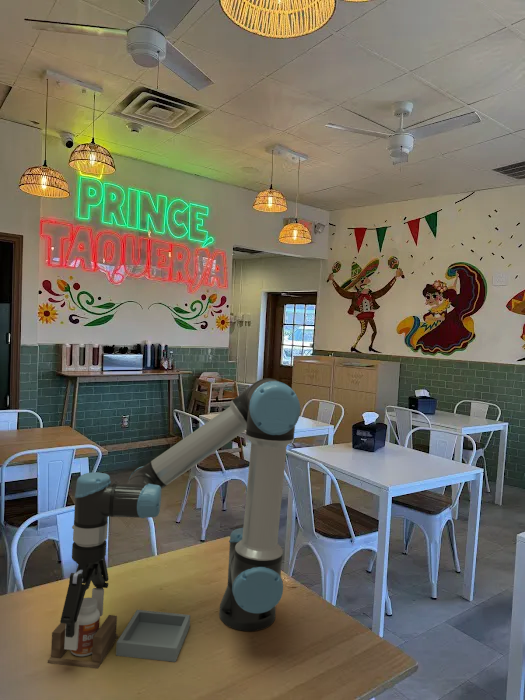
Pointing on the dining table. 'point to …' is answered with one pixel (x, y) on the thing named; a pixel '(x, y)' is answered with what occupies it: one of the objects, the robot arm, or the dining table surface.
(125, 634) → the tray
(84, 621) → the pill bottle
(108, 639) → the wooden open frame
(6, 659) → the dining table surface
